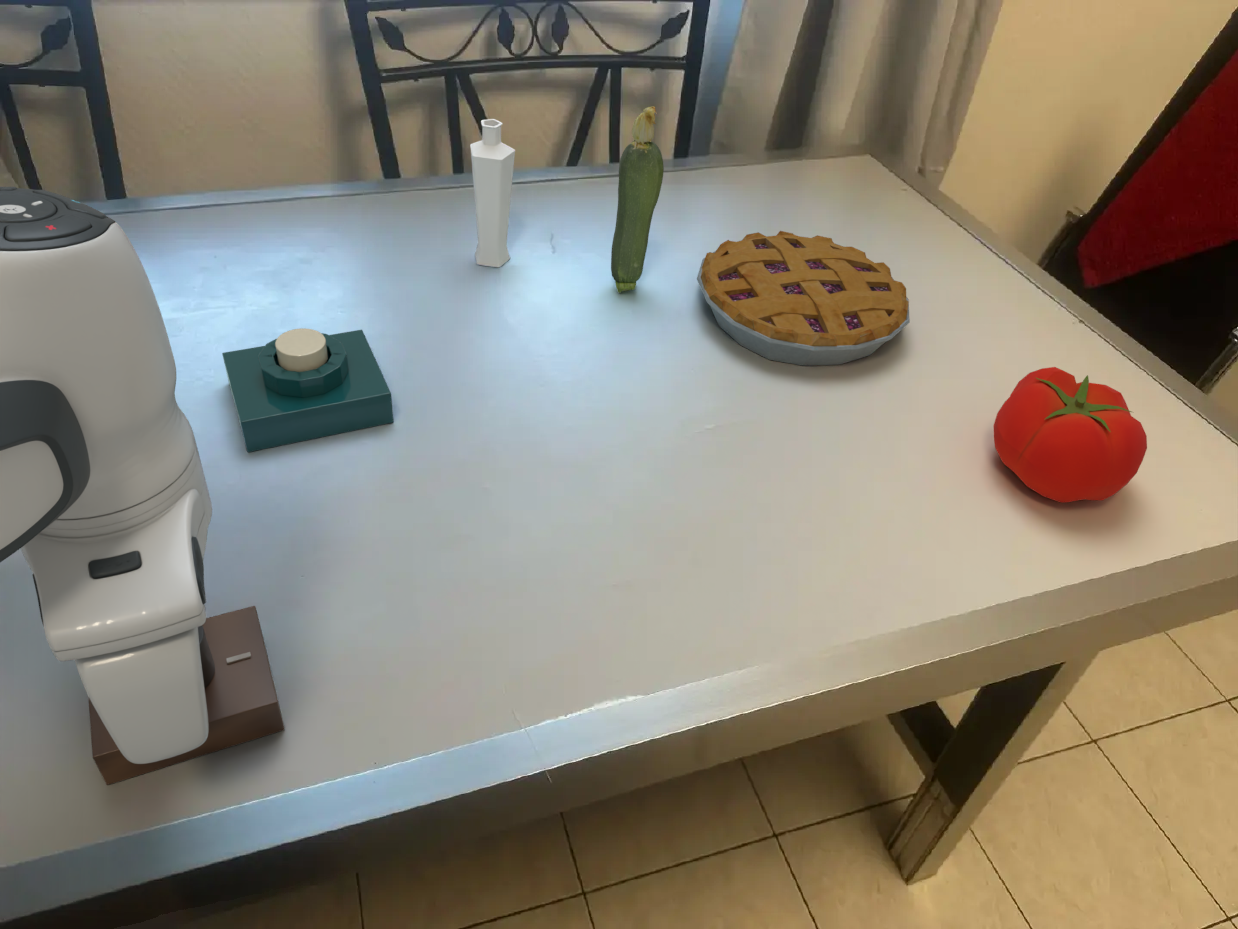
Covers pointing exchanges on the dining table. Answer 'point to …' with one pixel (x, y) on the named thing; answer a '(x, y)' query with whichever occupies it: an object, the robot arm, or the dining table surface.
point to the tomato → (1069, 437)
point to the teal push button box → (307, 393)
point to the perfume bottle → (492, 193)
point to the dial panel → (213, 698)
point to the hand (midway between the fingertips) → (172, 669)
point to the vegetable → (636, 201)
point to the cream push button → (301, 350)
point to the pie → (802, 298)
